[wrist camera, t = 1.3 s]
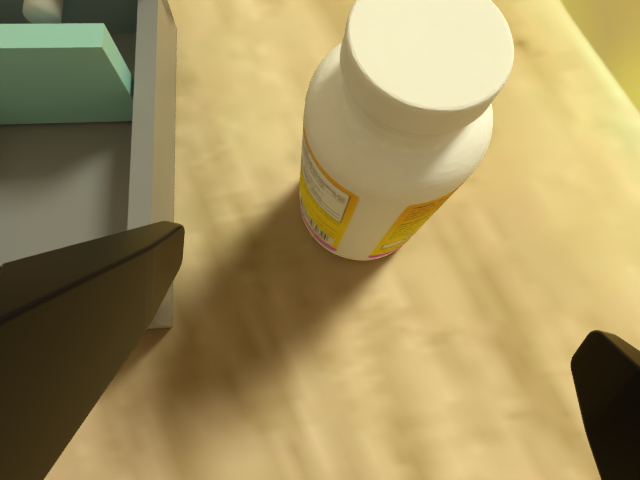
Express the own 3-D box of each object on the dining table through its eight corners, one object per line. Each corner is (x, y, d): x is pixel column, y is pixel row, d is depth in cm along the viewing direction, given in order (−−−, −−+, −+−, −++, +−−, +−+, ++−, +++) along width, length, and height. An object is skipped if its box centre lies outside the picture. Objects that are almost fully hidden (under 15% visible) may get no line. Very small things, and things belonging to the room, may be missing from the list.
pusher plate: (145, 120, 23) (102, 47, 18) (-22, 125, 22) (-120, 49, 17) (145, 101, 23) (103, 23, 18) (-19, 104, 22) (-114, 24, 17)
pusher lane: (171, 327, 21) (120, 312, 15) (-67, 344, 20) (-236, 336, 14) (176, 28, 26) (139, -83, 19) (-16, 30, 25) (-123, -88, 18)
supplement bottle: (425, 168, 25) (564, -23, 12) (403, 277, 23) (541, 178, 10) (314, 138, 25) (343, -84, 12) (283, 244, 23) (280, 106, 10)
